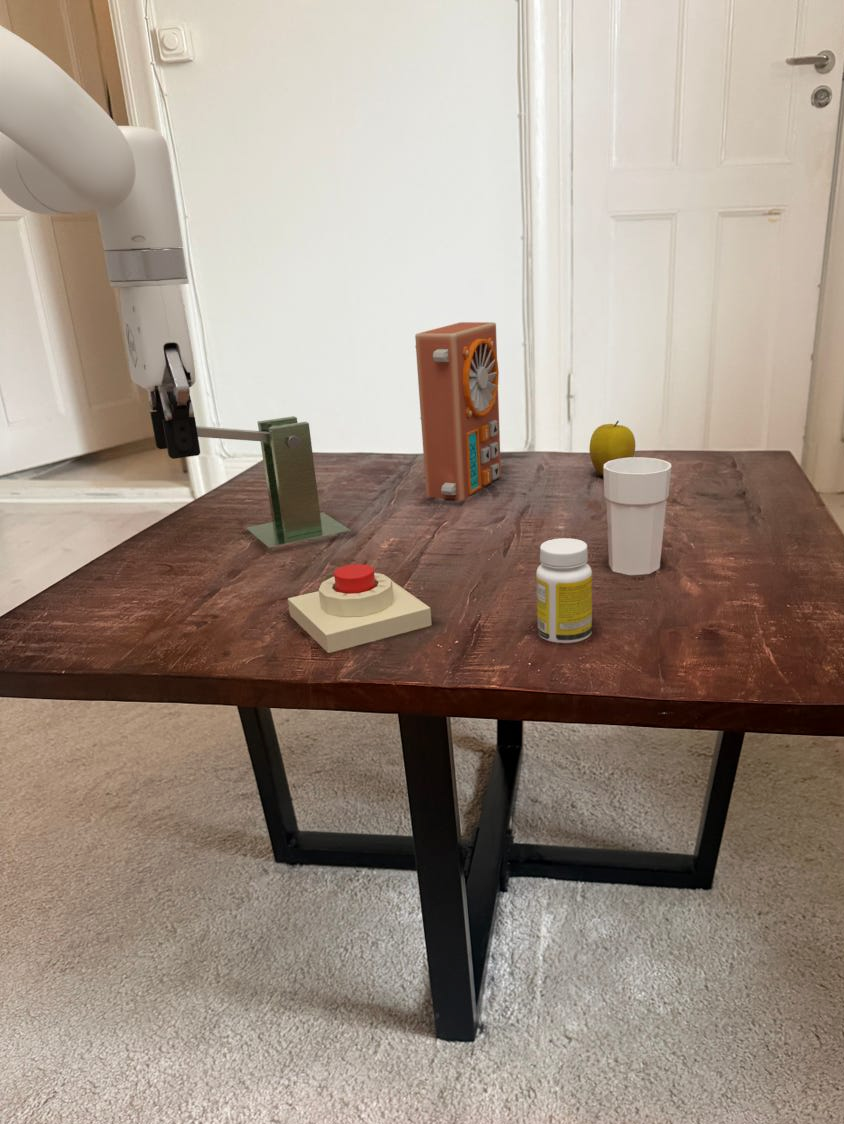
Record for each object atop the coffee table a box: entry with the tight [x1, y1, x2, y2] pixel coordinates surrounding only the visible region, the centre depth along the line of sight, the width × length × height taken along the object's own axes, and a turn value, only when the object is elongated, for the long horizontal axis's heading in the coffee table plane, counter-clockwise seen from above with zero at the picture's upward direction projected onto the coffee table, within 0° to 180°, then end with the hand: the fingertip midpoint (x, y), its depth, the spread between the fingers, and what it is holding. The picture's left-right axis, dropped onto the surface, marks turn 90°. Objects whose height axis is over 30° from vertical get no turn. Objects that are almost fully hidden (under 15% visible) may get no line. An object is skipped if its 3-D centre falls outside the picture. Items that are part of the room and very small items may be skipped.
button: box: [333, 563, 376, 594], centre depth 81 cm, size 4×4×2 cm
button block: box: [287, 572, 433, 654], centre depth 82 cm, size 10×10×4 cm
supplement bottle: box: [535, 537, 593, 644], centre depth 77 cm, size 5×5×8 cm
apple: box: [589, 420, 636, 477], centre depth 124 cm, size 6×6×8 cm
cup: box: [603, 456, 672, 576], centre depth 90 cm, size 7×7×11 cm
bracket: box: [245, 415, 351, 548], centre depth 104 cm, size 10×9×14 cm
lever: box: [196, 425, 277, 446], centre depth 99 cm, size 14×5×2 cm, turn 120°
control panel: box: [414, 321, 502, 501], centre depth 116 cm, size 21×7×15 cm
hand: (178, 450), depth 96 cm, fingers closed on lever, 5 cm apart
